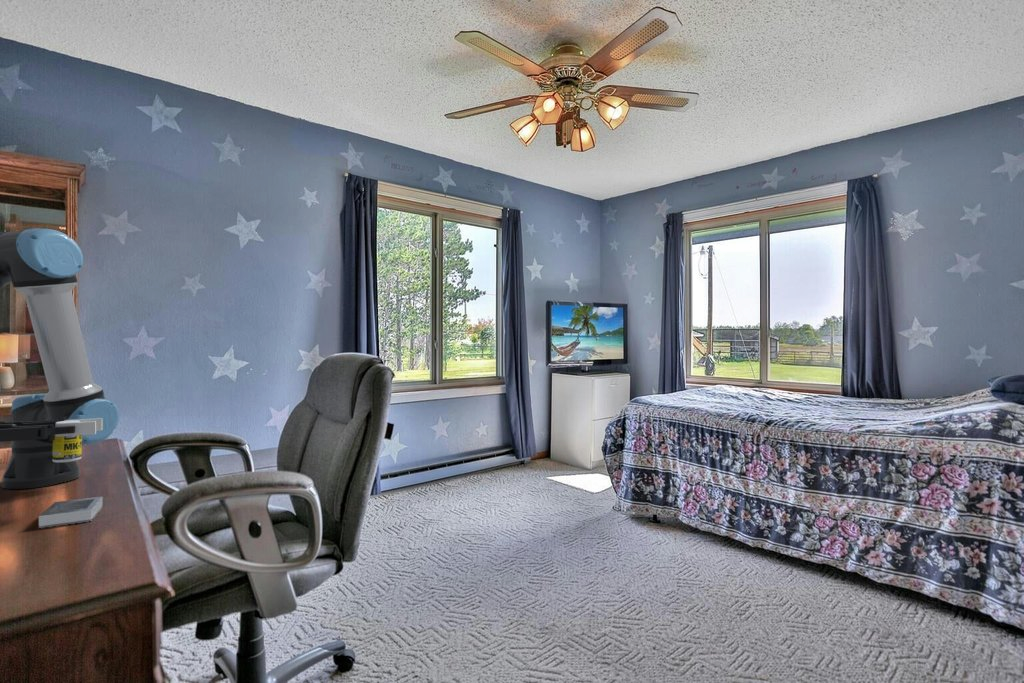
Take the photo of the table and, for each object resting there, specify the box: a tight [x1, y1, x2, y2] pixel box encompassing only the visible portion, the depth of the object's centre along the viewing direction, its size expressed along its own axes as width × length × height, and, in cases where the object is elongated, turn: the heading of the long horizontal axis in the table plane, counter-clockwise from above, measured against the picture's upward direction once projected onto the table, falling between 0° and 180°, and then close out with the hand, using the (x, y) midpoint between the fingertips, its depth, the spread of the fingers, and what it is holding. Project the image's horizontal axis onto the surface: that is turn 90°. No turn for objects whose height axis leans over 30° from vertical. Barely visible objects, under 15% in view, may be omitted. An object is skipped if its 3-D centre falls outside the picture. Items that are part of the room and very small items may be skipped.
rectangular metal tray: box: [38, 496, 104, 529], centre depth 105 cm, size 10×8×2 cm
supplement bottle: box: [52, 420, 83, 462], centre depth 109 cm, size 5×5×8 cm
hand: (98, 425), depth 111 cm, fingers closed on supplement bottle, 5 cm apart
